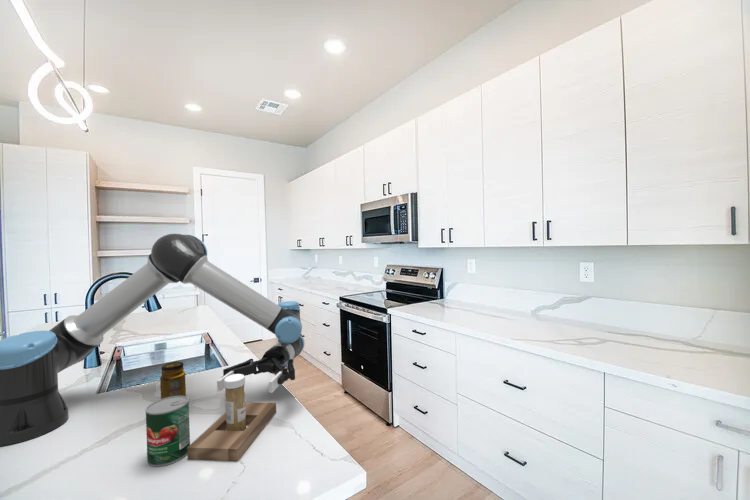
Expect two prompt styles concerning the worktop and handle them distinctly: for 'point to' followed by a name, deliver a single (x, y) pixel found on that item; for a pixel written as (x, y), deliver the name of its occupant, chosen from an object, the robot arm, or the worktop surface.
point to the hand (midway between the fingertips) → (244, 386)
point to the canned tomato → (167, 430)
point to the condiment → (172, 380)
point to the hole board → (231, 435)
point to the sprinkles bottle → (235, 402)
